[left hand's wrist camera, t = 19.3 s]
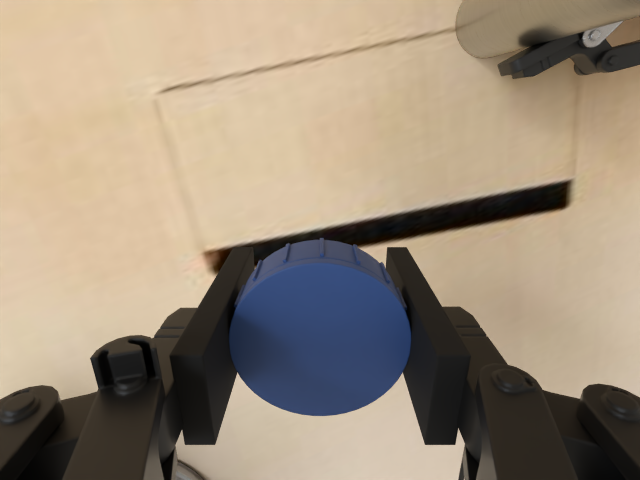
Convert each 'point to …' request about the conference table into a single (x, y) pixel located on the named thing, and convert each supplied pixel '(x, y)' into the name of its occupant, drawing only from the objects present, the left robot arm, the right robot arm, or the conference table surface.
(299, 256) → the lid
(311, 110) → the conference table surface
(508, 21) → the jar
